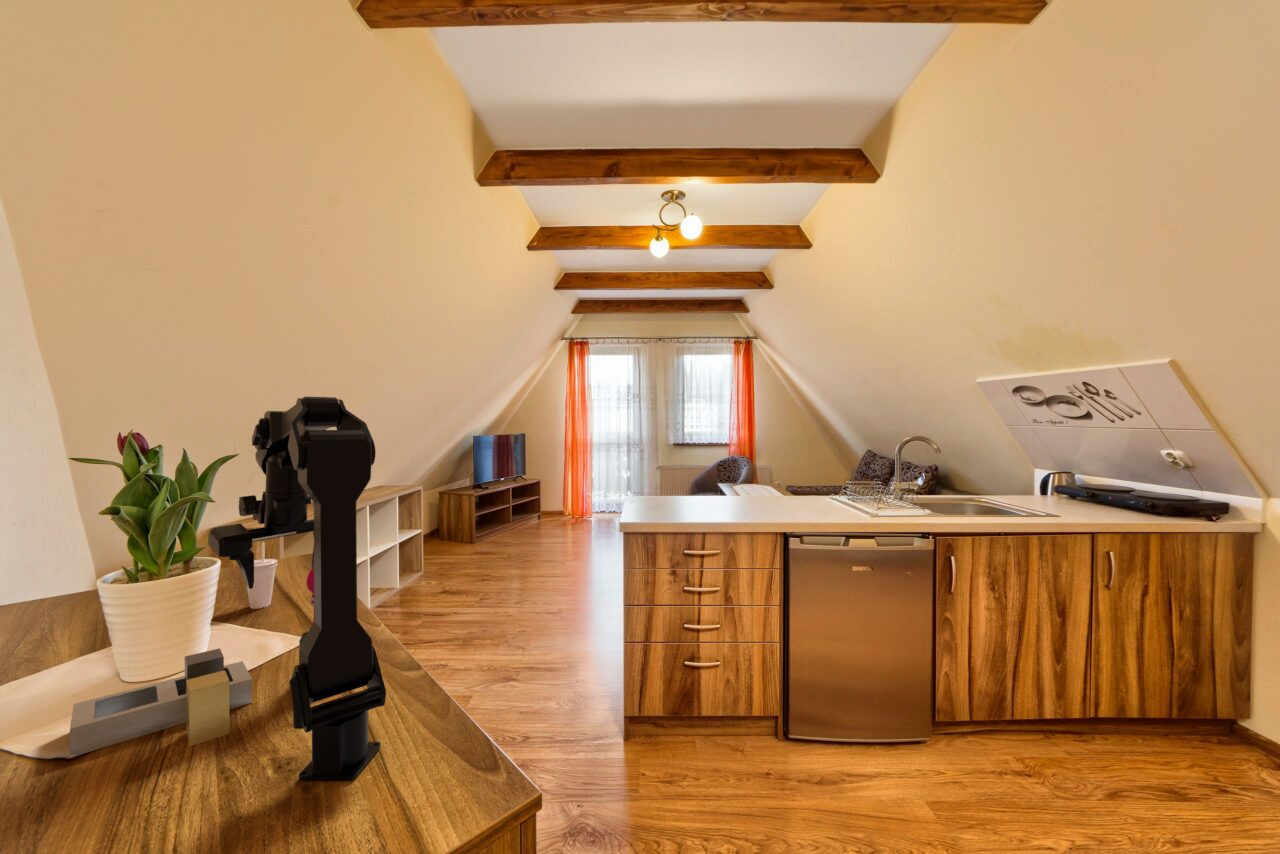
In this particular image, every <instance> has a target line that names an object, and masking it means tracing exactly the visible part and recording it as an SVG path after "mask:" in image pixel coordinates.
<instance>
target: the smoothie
mask: <svg viewBox="0 0 1280 854" xmlns="http://www.w3.org/2000/svg"><path fill="white" fill-rule="evenodd" d="M265 556H266V555H265V542H264V541H263V542H262V541H261V559H256V560H255V559H254V584H253V588H252V589H249V588H248V586H247V585H246V591H247V596H248V603H249V608H250V609H252V610H256V609H257V610H258V609H263V607H264V608H267V607H269V605H270V604H271V603H272V596H273V589H274V583H275V582H274V581H275V577H276V576H275V575H276V567H277V566H279V565H278V560H277V559H275V558H265ZM270 606H271V605H270Z"/></svg>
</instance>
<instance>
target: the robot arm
mask: <svg viewBox="0 0 1280 854" xmlns="http://www.w3.org/2000/svg"><path fill="white" fill-rule="evenodd" d="M330 428H336V429H330ZM251 445H252V446H254V447H255V449H256V452H255V461H256V464H257V465H258V466H259V468H260V470H261V471H262V473H263V474H264V475H265V491H262V496H261V499H260V500H259V499H258V500H257V497H256V495H255V494H254V495H246V496H239V498H238V513H239V515H240V517H247V516H252V520H253V521H256V520H257V523H258V524H259V525H263V527H257V528H252V529H247V528H246V527H245V526H244V525H243V524H242V523H235V524H229V525H222V526H215V527H213V528H212V529H211V530H210V531H209V533H208V534H207V537H208V541H207V542H208V544H207V545H208V546H209V547H210V549H211V550H212V551H214V553H215V554H216V555H217V556H218V557H219V558H220V557H221V558H228V560H230V561H235V562H236V563H237V565H238V567H239V570H240V573H241V575H242V576H243V580H244V581H245V583H246V587H247V586H248V588H249V589H252V588H253V584H254V560H255V553H254V552H253V551H252V550H251V549H252V548H253V543H254V542H259V541H261V542H262V541H265V540H266V541H267V540H271V539H277V538H282V537H288V536H292V535H301V534H304V533H310V532H312V534H313V547H312V549H313V550H312V554H311V555H312V557H311V570H312V569H313V568H314V595H315V621H314V623H313V622H312V624H313V625H312V624H311V627H310V628H309V630H308V631H307V632H303V633H302V635H301V637H300V639H299V644H298V645H299V650H298V652H299V653H298V664H297V665H295V666H294V667H293V671H292V672H293V673H292V675H291V678H290V679H289V681H288V685H289V692H290V699H291V706H292V727H293V728H294V730H295V729H297V730H299V729H300V730H303V731H304V733H306V734H307V733H309V732H311V761H310V762H309V763H308V764H307V765H306V766H305V767H304V768H303V769H302V770H301V771H300V772H299V773H298V780H299V781H353V780H355V779H356V778H357V776H358V775H359V774H361V771H362V770H363V769H364V768H365V767H366V765H367V764H368V763H369V762H370V760H371V759H372V758H373V757H374V756H375V755H376V754H377V752H378V751H379V749H381V742H380V741H369V711H370V710H372V709H375V708H379V707H381V708H382V707H384V706H385V703H386V697H387V689H386V686H385V682H384V679H383V675H382V671H381V666H380V663H379V659H378V656H377V652H376V649H375V647H374V645H373V640H372V637H371V636H370V635H369V633H368V632H367V631H366V629H365V628H364V627H363V626H362V625H361V623H360V622H359V620H358V565H357V564H358V563H357V558H358V555H357V554H358V553H357V552H358V551H357V543H358V541H357V533H358V532H357V501H358V500H359V498H360V497H361V495H362V494H363V492H364V490H365V489H366V488H367V486H368V485H369V482H370V481H371V479H372V466H373V465H374V464H375V461H376V445H375V441H374V439H373V437H372V435H371V432H370V429H369V427H368V425H367V423H366V422H365V421H363V420H362V419H360V418H359V417H358V416H357V415H354V414H353V413H352V412H350V411H349V410H348V409H347V408H346V406H345V403H344V401H343V400H342V399H341V398H340V399H338V398H337V397H335V396H334V397H331V396H330V397H329V396H303V397H298V398H297V399H296V402H295V404H294V405H293V406H292V407H290V408H289V409H287V410H267V411H266V412H264V414H263V417H260V418H259V419H258V423H257V424H256V425H255V427H254V430H253V433H252V436H251ZM252 446H251V447H252ZM311 503H313V519H308V505H310V504H311ZM364 687H367V688H366V689H362V690H359V691H356V692H353V693H350V694H346V695H343V696H341V697H338V698H334V699H331V700H328V701H325V702H323V703H319V704H315V705H313V706H311V704H313V703H316V702H319V701H323V700H325V699H329V698H331V697H337V696H338V695H341V694H345V693H348V692H351V691H354V690H356V689H360V688H364Z"/></svg>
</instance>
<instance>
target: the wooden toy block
mask: <svg viewBox="0 0 1280 854" xmlns="http://www.w3.org/2000/svg"><path fill="white" fill-rule="evenodd" d="M185 725H186V737H187V741H188V742H187V743H188V746H189V747H192V746H196V745H198V744H199V745H200V744H201V743H204V742H207V741H211V740H214V739H216V738H221V737H224V736H226V735H228V734H230V709H229V679H228V676H227V674H226V672H225V670H224V671H220V672H216V673H212V674H208V675H204V676H200V677H196V678H193V679H189V680H186V723H185Z"/></svg>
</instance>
